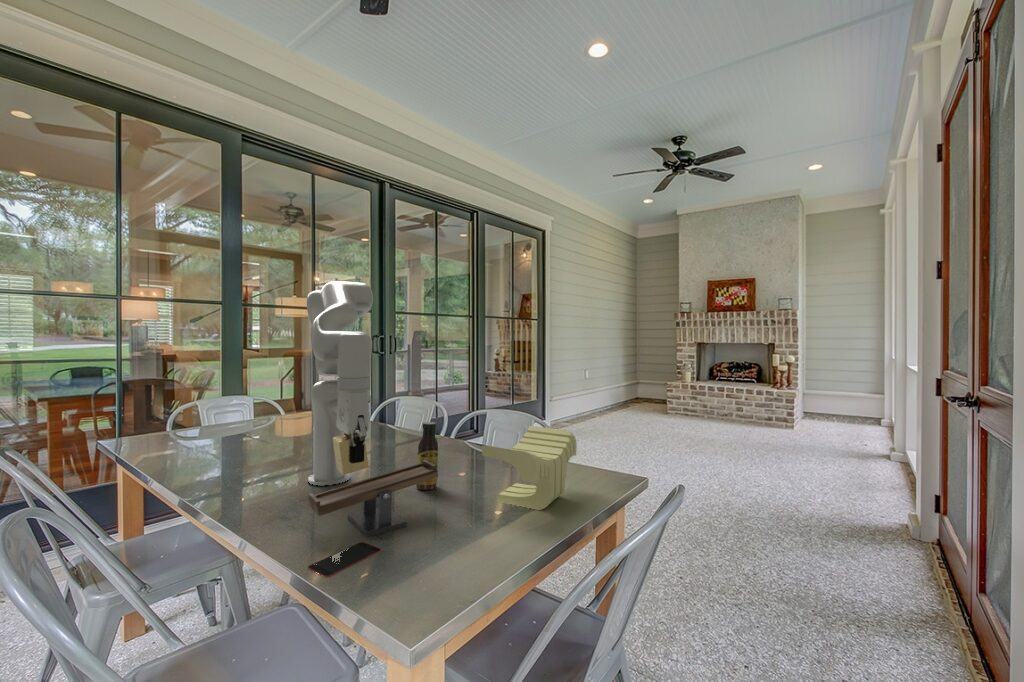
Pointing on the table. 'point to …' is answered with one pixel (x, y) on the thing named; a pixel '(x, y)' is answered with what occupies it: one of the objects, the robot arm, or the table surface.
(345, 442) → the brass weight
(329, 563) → the smartphone
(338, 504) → the brown long channel
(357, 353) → the robot arm
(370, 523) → the beam stand
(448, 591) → the table surface
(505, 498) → the slatted curved stool
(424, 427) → the sauce bottle
